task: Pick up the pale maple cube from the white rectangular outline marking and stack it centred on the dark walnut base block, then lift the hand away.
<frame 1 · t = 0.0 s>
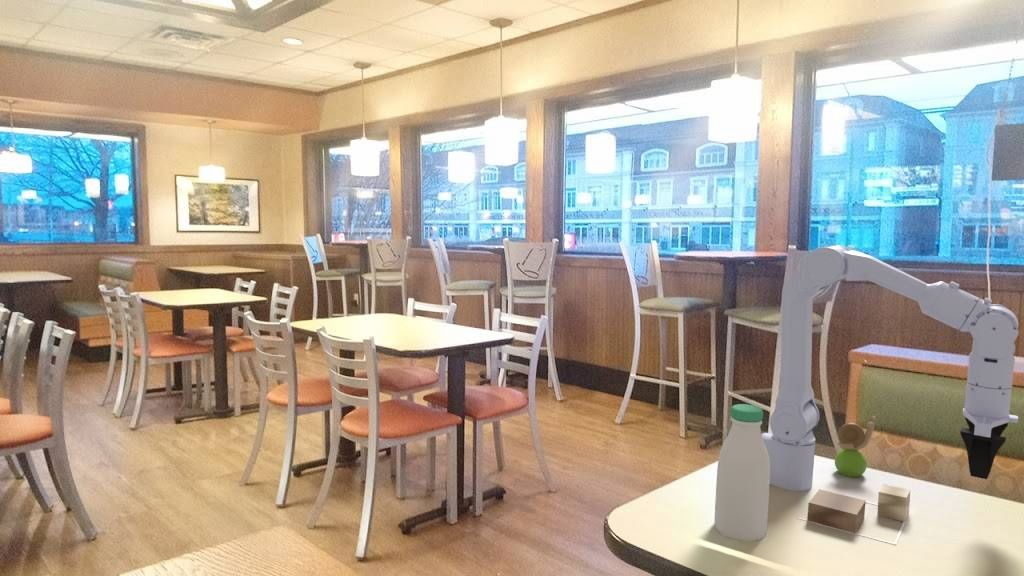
hand: (980, 469, 108), 10 cm above the table, tool pointing down, fingers open, 7 cm apart
milk bottle: (739, 533, 107), on the table
snail figurine: (852, 478, 131), on the table
white rectangular outline marking: (853, 519, 113), on the table
walnut base block: (835, 519, 111), point 1 cm above the table, touching white rectangular outline marking
maple cube: (893, 514, 113), point 1 cm above the table, touching white rectangular outline marking
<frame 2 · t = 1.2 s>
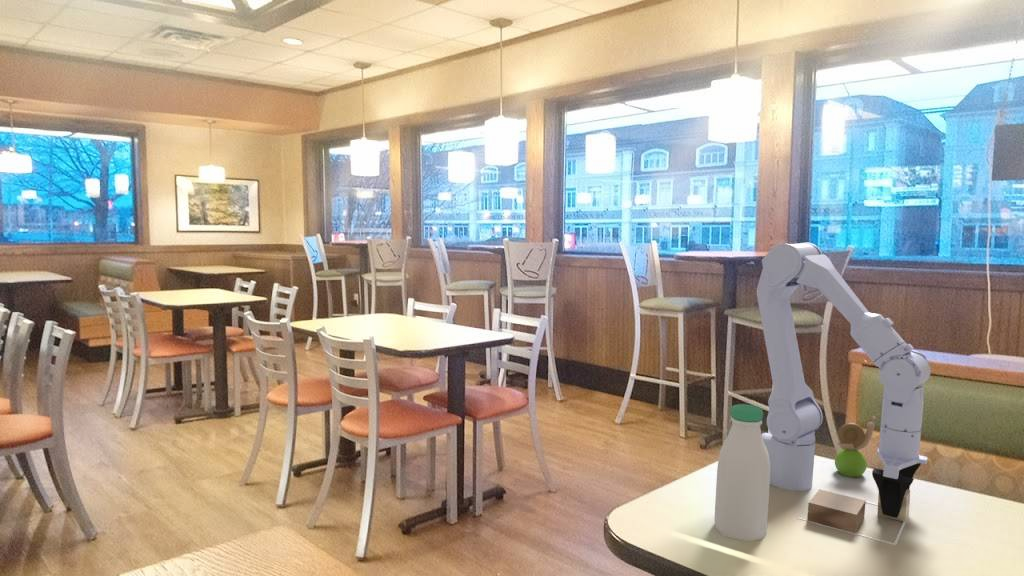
hand: (894, 507, 113), 2 cm above the table, tool pointing down, fingers open, 7 cm apart
nothing on the table moved.
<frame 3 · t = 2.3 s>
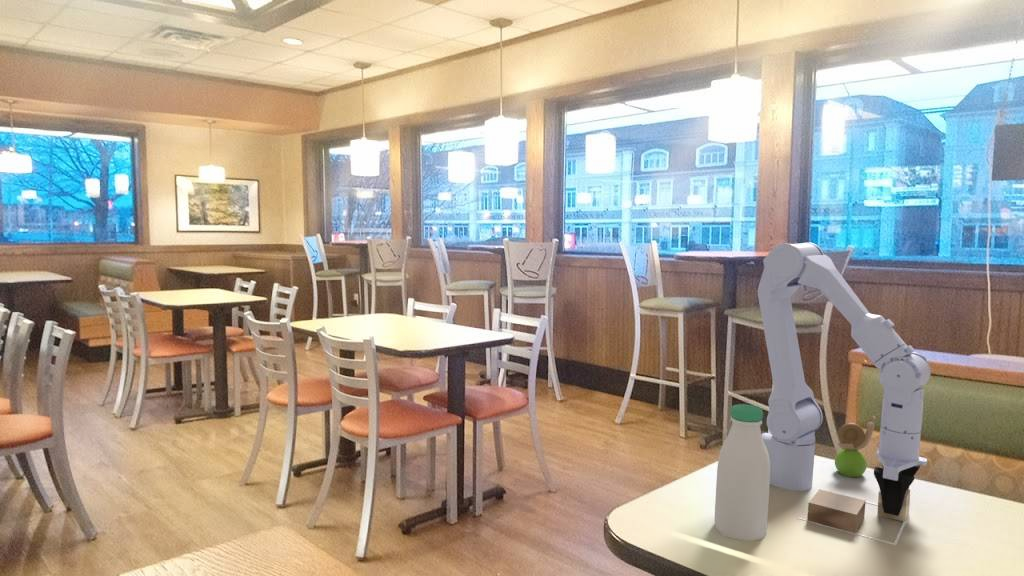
hand: (893, 508, 113), 2 cm above the table, tool pointing down, fingers closed on maple cube, 4 cm apart
maple cube: (893, 514, 113), point 1 cm above the table, touching white rectangular outline marking, gripper
everything else where it was.
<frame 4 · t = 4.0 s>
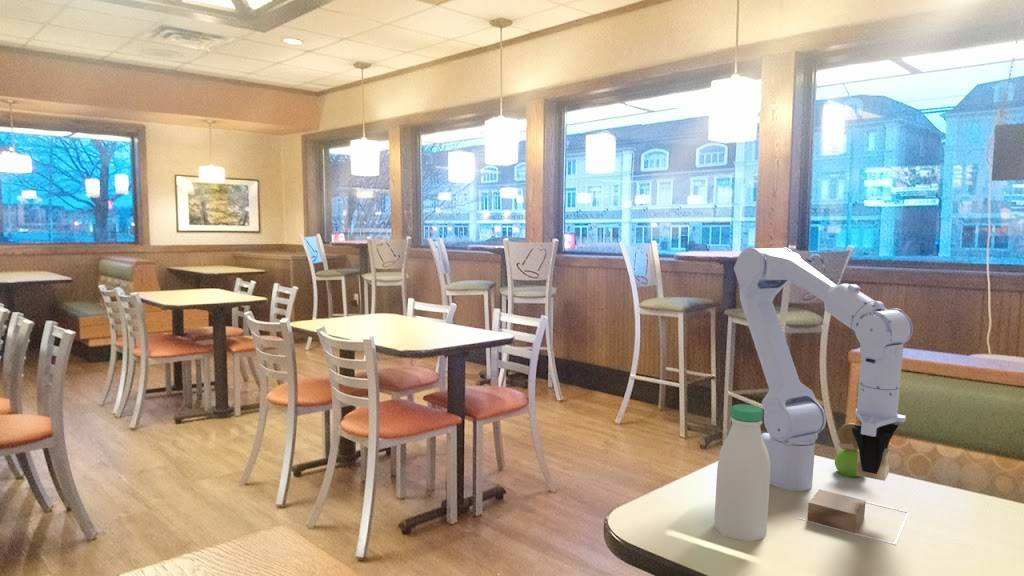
hand: (872, 467, 111), 9 cm above the table, tool pointing down, fingers closed on maple cube, 4 cm apart
maple cube: (872, 474, 111), point 8 cm above the table, touching gripper
everything else where it was.
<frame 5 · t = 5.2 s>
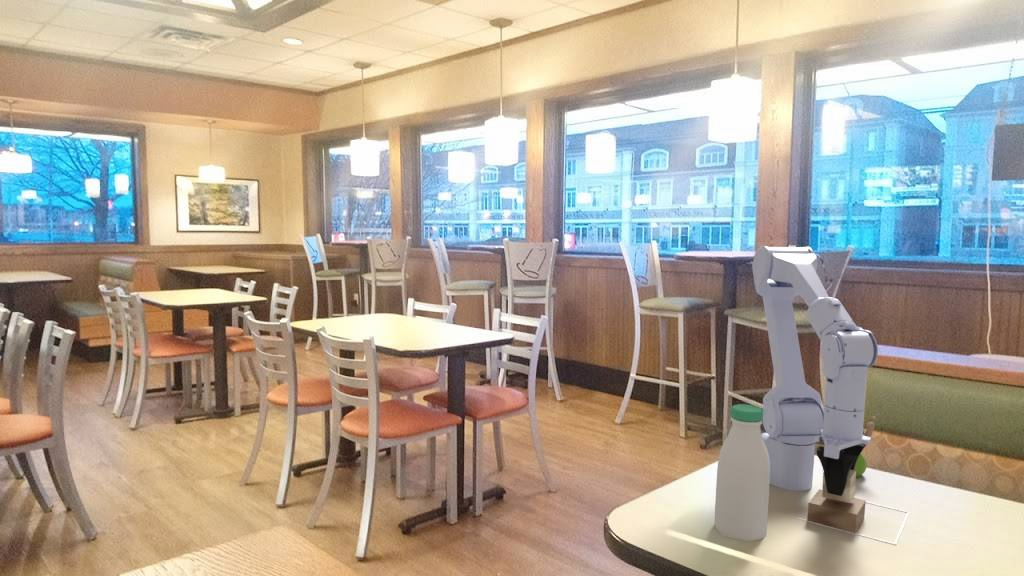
hand: (838, 489, 110), 6 cm above the table, tool pointing down, fingers closed on maple cube, 4 cm apart
maple cube: (838, 495, 110), point 5 cm above the table, touching gripper
everything else where it was.
when the fingers open (5 cm above the table, at t = 6.1 s): maple cube stays where it is, resting on walnut base block.
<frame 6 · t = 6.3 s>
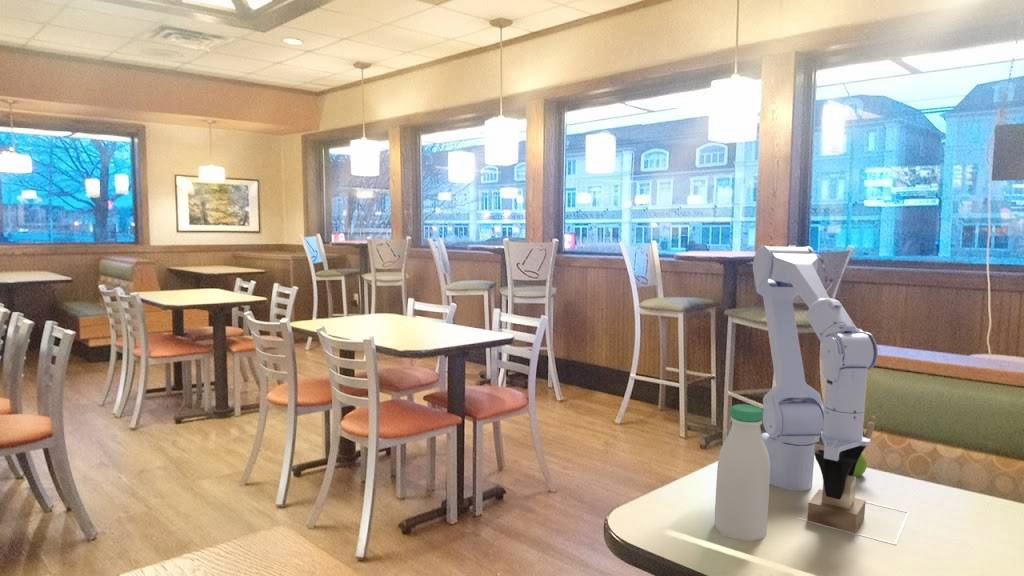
hand: (838, 490, 110), 5 cm above the table, tool pointing down, fingers open, 6 cm apart
walnut base block: (835, 519, 111), point 1 cm above the table, touching white rectangular outline marking, maple cube
maple cube: (838, 501, 111), point 4 cm above the table, touching walnut base block
everything else where it was.
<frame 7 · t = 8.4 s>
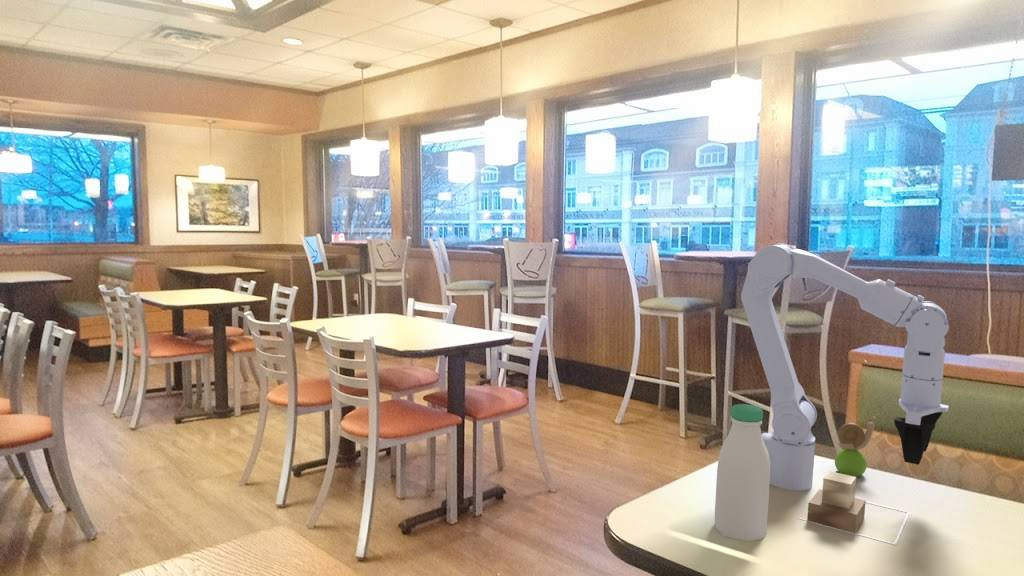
hand: (915, 456, 115), 9 cm above the table, tool pointing down, fingers open, 7 cm apart
nothing on the table moved.
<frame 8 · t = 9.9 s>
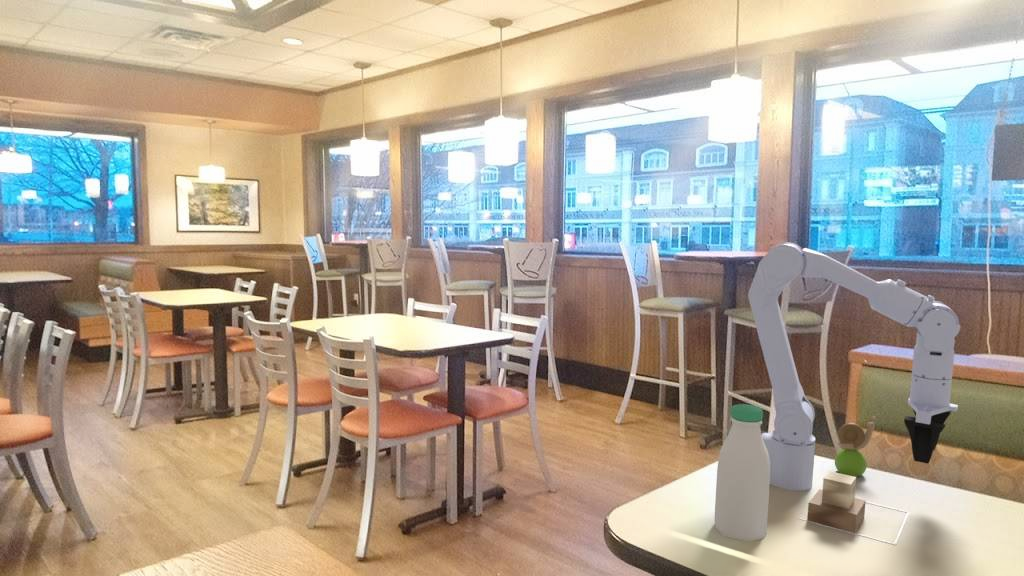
hand: (924, 455, 116), 9 cm above the table, tool pointing down, fingers open, 7 cm apart
nothing on the table moved.
at the end: maple cube 0.1 cm off-centre on the walnut base block, point 3.0 cm above the walnut base block's base; maple cube tilted 1°; walnut base block moved 0.1 cm from its start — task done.
